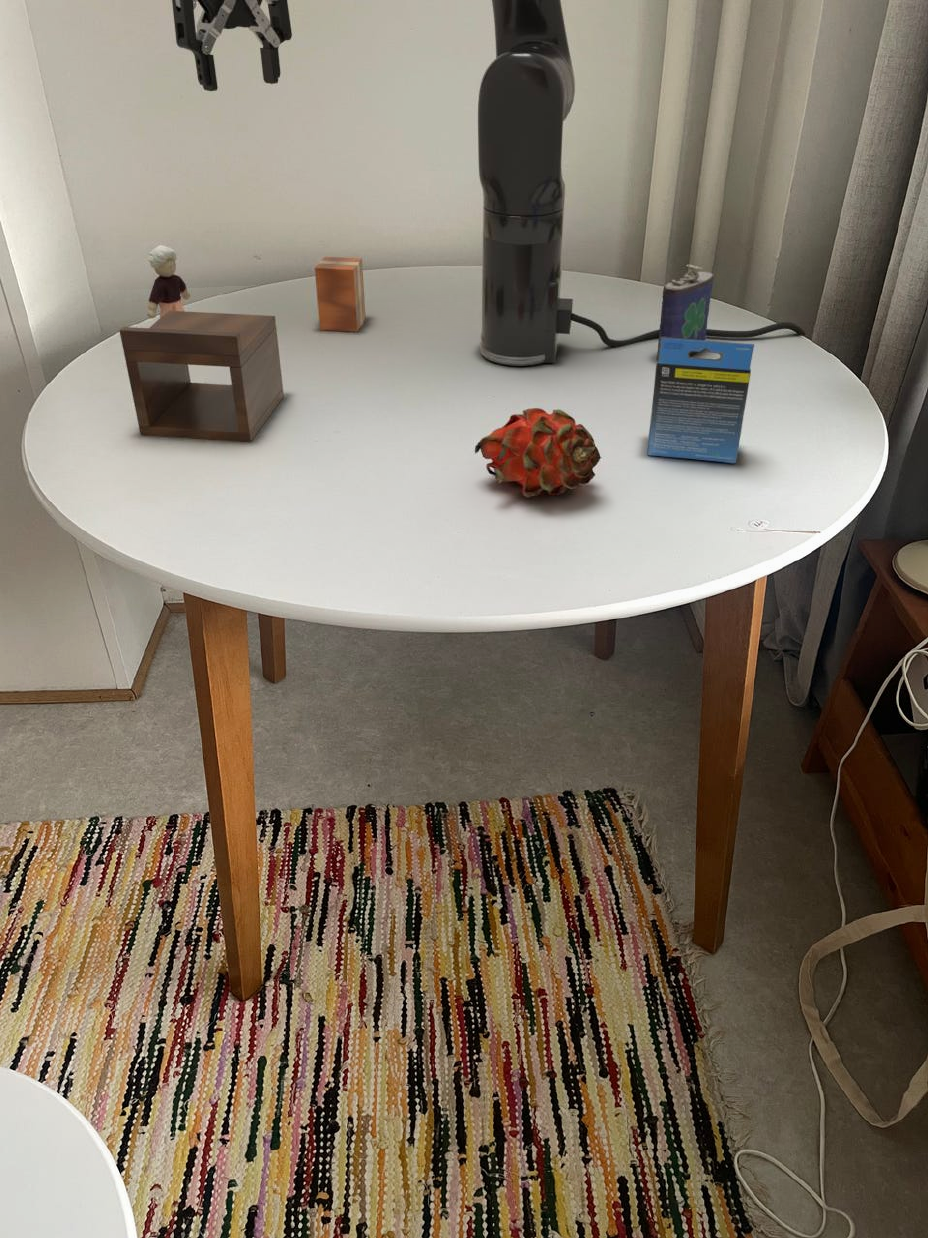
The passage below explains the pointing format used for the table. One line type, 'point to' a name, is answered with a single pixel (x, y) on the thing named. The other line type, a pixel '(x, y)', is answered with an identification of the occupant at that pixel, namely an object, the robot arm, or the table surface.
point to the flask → (686, 306)
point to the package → (340, 293)
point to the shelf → (204, 407)
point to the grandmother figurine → (165, 283)
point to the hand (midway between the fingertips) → (241, 86)
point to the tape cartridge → (699, 400)
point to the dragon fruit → (541, 452)
